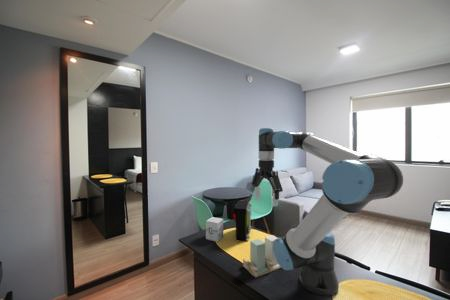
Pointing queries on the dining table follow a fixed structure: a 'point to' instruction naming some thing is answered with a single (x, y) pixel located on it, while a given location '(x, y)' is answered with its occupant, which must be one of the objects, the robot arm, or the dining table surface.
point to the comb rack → (256, 273)
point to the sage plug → (257, 254)
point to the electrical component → (242, 220)
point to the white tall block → (270, 249)
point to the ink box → (214, 229)
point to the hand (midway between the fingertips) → (265, 202)
